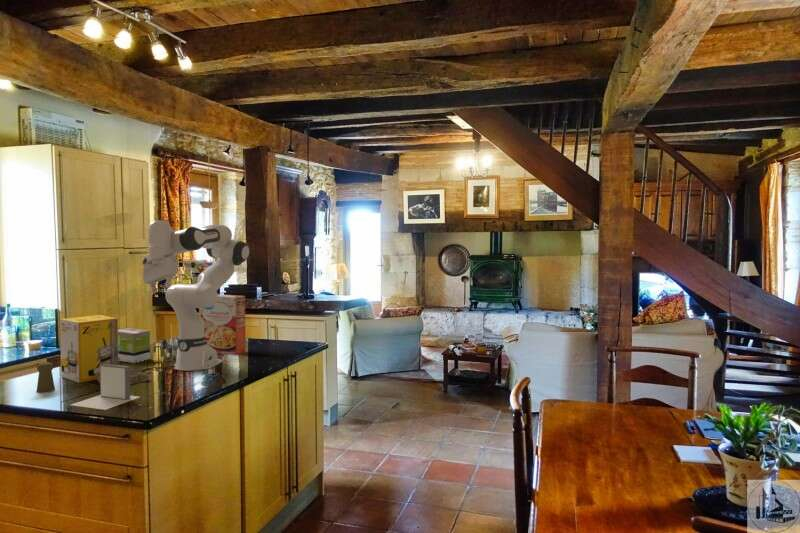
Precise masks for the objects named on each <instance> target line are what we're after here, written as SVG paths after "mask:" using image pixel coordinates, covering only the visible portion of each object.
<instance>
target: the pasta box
mask: <svg viewBox="0 0 800 533" xmlns="http://www.w3.org/2000/svg"><path fill="white" fill-rule="evenodd" d="M198 310H199V311H198V315H199V316H201V317H202V318H203V320H204V336H205V337H206V336H210V337H211V338H210V340H209V341H208V340H206V341H207V344H208V345H209V346H210V347H212V348H213V349H215V350H216V353H217V354H218V353H220V355H229V354H231V356H238V355H240V354H244V353H246V296H245V295H235V294H233V295H232V294H218V299H217V302H216V303H215V305H214V306H212V307H208V308H198ZM243 352H244V353H243ZM237 354H238V355H237Z"/></svg>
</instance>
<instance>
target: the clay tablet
mask: <svg viewBox="0 0 800 533" xmlns="http://www.w3.org/2000/svg"><path fill="white" fill-rule="evenodd" d="M149 380H150V378H149V373H147V372H142V371H135V370H130V385H134V384H136V383H145V382H148V381H149ZM96 381H97V382H98V383H99V384H100V374H99V376H98V377H97V379H96Z"/></svg>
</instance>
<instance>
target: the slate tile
mask: <svg viewBox="0 0 800 533" xmlns="http://www.w3.org/2000/svg"><path fill="white" fill-rule="evenodd" d="M130 371H131V366H130V365H129V366H128V365H121V364H119V365H111V364H102V365H100V383H99V384H100V386H99V387H100V388H99V389H100V390H99V391H100V395H101V397H107V398H115V399H123V400H128V399H130V396H131V384H130Z"/></svg>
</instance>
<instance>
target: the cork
mask: <svg viewBox="0 0 800 533" xmlns="http://www.w3.org/2000/svg"><path fill="white" fill-rule="evenodd" d="M36 369H37V372H38V375H37V376H38V379H37V385H36V393H37V394H38V393H39V394H44V393H46V394H47V393H50V392H53V391H56V389H55V388H56V387H55V382H54V377H53V370H54V364H53V362H47V361H44V362H41V363H38V364H37V367H36Z"/></svg>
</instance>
